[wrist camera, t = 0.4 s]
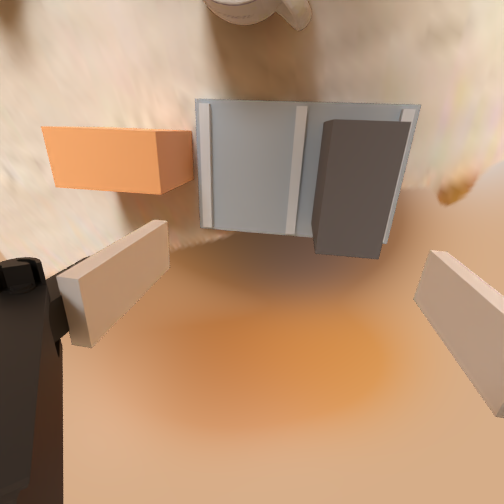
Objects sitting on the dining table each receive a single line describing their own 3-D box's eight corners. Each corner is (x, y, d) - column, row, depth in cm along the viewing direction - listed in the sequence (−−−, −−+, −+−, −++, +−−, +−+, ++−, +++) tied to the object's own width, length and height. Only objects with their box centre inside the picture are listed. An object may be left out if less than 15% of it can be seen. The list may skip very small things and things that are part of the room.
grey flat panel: (197, 99, 34) (192, 98, 32) (417, 105, 31) (424, 104, 29) (202, 225, 40) (198, 229, 39) (384, 241, 37) (388, 246, 36)
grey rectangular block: (323, 122, 32) (333, 119, 23) (378, 124, 31) (411, 121, 22) (311, 223, 37) (315, 253, 28) (358, 226, 36) (378, 259, 27)
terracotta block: (111, 173, 40) (55, 187, 31) (103, 127, 37) (41, 126, 28) (193, 179, 38) (161, 194, 29) (191, 130, 36) (155, 131, 27)
